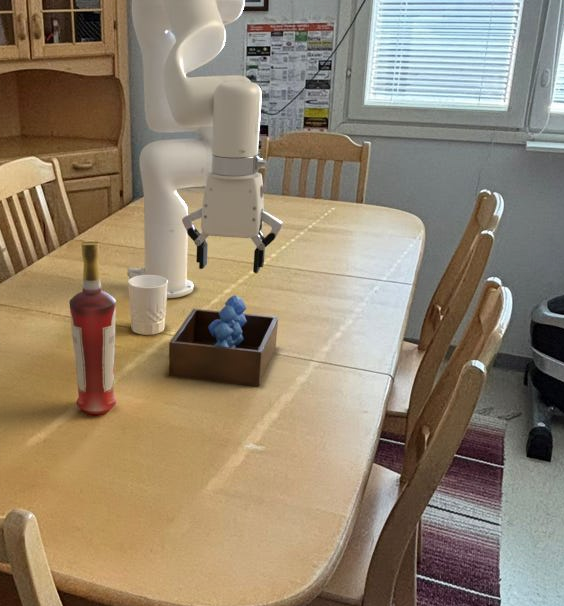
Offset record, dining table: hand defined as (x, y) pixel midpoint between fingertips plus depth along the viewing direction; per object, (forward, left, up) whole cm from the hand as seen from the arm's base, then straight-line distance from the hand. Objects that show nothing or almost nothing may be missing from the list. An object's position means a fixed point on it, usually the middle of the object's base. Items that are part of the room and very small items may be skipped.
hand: (229, 268), depth 151 cm
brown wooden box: (0, 0, -18) cm, 18 cm away
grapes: (0, 0, -18) cm, 18 cm away
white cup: (-19, +12, -18) cm, 29 cm away
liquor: (-17, -25, -18) cm, 35 cm away
